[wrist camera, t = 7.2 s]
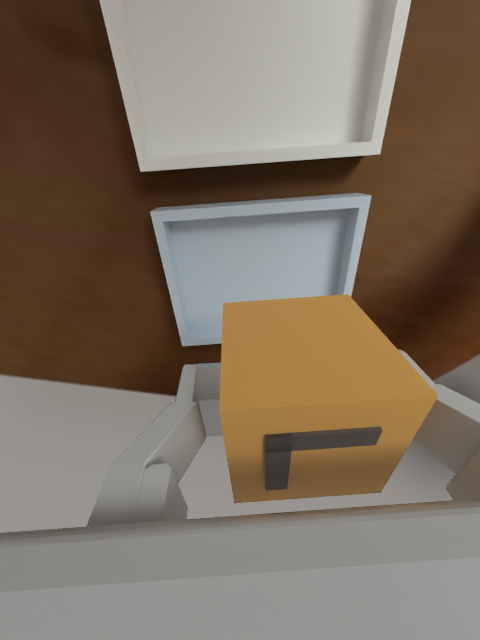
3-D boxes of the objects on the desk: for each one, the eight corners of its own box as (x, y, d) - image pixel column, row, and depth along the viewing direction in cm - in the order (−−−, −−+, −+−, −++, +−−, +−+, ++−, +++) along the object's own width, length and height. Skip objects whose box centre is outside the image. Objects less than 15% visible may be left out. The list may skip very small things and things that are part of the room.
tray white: (81, -134, 9) (53, -193, 8) (419, -158, 9) (456, -221, 8) (149, 171, 15) (140, 171, 13) (364, 155, 15) (380, 154, 13)
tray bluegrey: (157, 207, 16) (149, 211, 14) (357, 192, 16) (371, 195, 14) (185, 333, 21) (182, 346, 20) (335, 322, 21) (343, 334, 20)
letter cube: (223, 303, 9) (219, 415, 5) (348, 294, 9) (442, 399, 5) (232, 387, 11) (234, 506, 7) (329, 381, 11) (382, 496, 7)
